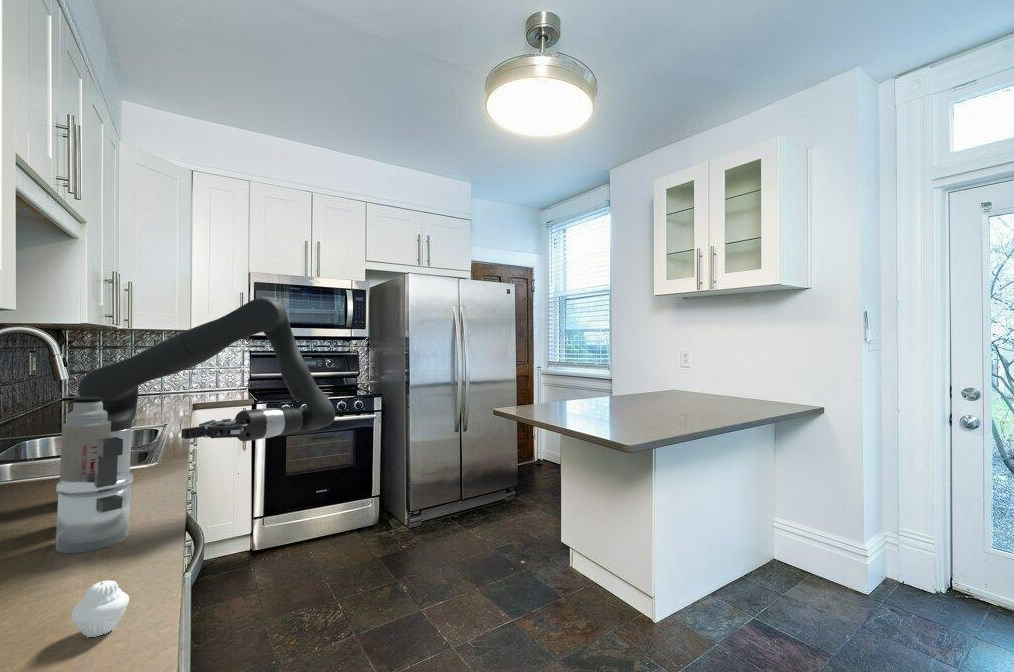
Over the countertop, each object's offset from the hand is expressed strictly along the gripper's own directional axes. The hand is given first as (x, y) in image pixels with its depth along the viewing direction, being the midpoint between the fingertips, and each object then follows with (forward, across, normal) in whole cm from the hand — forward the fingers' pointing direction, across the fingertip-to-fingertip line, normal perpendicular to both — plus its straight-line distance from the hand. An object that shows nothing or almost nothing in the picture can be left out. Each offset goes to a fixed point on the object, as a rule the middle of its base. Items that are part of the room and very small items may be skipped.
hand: (183, 434), depth 101 cm
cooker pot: (+13, -5, +21) cm, 25 cm away
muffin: (+23, +31, +21) cm, 44 cm away
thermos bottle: (+11, -18, +21) cm, 30 cm away
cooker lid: (+13, -5, +9) cm, 17 cm away
